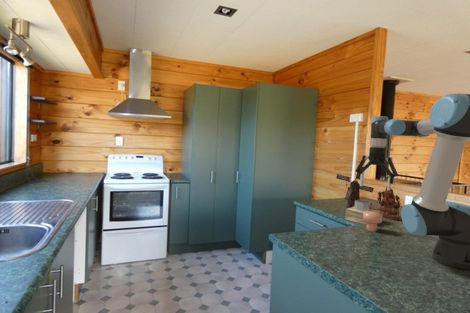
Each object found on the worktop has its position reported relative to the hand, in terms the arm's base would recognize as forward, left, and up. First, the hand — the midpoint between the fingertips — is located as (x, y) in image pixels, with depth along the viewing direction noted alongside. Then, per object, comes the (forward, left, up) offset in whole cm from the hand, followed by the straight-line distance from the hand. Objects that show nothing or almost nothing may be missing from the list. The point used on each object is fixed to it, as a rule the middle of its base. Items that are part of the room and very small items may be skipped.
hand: (374, 188), depth 148 cm
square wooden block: (+15, +11, -22) cm, 29 cm away
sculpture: (+36, +3, -22) cm, 42 cm away
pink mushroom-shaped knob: (0, 0, -22) cm, 22 cm away
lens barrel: (+15, +11, -16) cm, 25 cm away
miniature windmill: (+39, +27, -22) cm, 52 cm away
